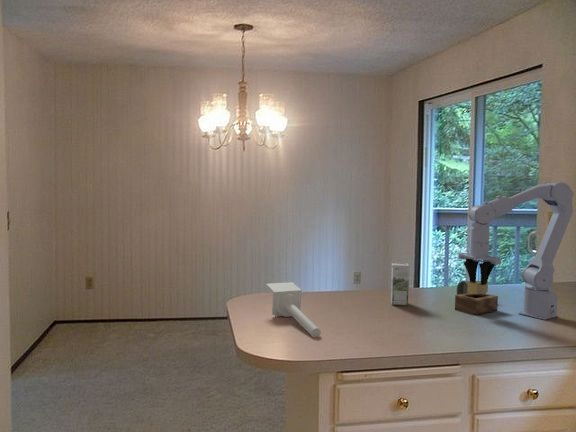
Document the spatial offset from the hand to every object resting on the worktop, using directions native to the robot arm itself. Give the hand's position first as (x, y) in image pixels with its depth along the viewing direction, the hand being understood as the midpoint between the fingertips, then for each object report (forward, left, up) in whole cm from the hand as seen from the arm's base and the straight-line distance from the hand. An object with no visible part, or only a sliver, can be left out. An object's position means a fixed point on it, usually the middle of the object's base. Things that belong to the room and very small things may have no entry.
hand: (478, 283), depth 181 cm
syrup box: (+25, +10, -11) cm, 29 cm away
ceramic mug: (+15, -16, -11) cm, 25 cm away
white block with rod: (+25, +56, -11) cm, 62 cm away
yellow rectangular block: (0, 0, -3) cm, 3 cm away
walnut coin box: (+4, -5, -10) cm, 12 cm away
